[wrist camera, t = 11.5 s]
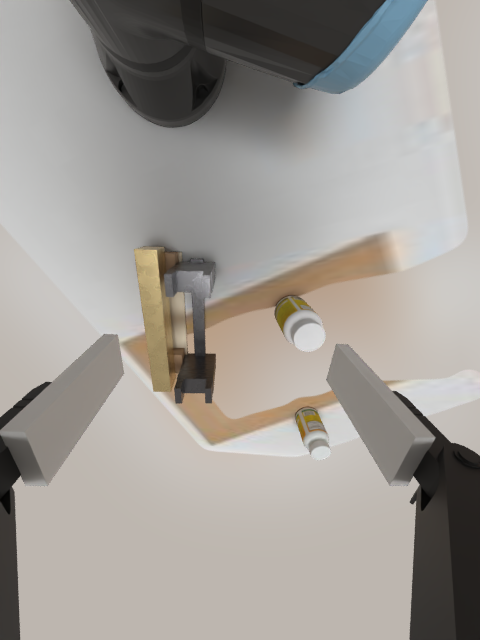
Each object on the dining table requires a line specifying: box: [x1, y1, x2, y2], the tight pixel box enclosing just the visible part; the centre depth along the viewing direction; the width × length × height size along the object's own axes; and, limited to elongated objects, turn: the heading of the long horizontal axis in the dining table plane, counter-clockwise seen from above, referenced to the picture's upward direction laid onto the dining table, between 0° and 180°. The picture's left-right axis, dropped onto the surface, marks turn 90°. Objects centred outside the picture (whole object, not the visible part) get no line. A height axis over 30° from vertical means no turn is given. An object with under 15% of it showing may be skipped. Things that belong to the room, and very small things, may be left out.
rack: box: [164, 258, 216, 403], centre depth 38 cm, size 22×6×10 cm, turn 178°
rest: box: [165, 251, 188, 373], centre depth 41 cm, size 22×7×3 cm, turn 178°
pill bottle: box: [275, 296, 325, 352], centre depth 38 cm, size 6×6×11 cm
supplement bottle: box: [296, 407, 331, 460], centre depth 49 cm, size 5×5×10 cm
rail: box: [134, 246, 176, 392], centre depth 37 cm, size 24×3×4 cm, turn 178°
